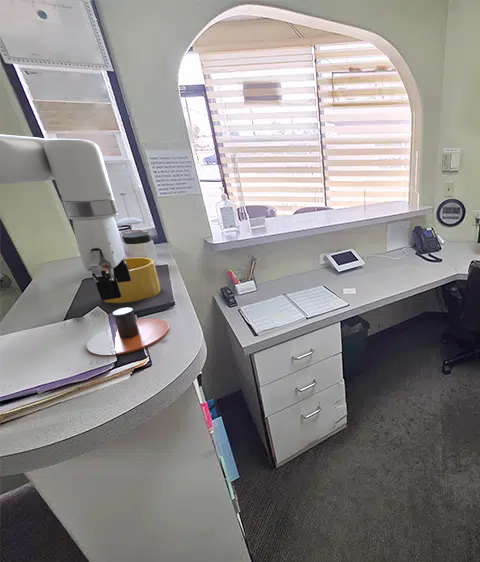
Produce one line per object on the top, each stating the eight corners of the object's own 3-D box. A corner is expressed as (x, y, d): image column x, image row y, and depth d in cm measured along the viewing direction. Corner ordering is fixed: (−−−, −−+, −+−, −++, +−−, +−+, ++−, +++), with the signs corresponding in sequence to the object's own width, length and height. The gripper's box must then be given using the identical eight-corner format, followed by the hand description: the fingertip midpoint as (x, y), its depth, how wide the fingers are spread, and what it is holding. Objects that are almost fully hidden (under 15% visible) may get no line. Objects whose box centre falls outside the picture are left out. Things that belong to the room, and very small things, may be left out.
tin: (97, 308, 84) (86, 275, 80) (110, 289, 95) (101, 260, 91) (157, 299, 89) (149, 269, 86) (162, 283, 101) (156, 255, 97)
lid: (77, 365, 61) (64, 335, 59) (98, 329, 74) (89, 303, 71) (166, 348, 68) (158, 319, 65) (172, 317, 80) (166, 293, 78)
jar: (126, 270, 109) (117, 237, 105) (132, 263, 116) (123, 232, 112) (156, 268, 113) (149, 236, 108) (160, 261, 120) (153, 231, 115)
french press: (149, 257, 123) (133, 193, 114) (113, 260, 119) (94, 193, 110) (156, 251, 132) (141, 190, 122) (123, 252, 128) (105, 190, 119)
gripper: (81, 203, 65) (106, 278, 72) (47, 218, 51) (81, 309, 58) (125, 202, 69) (145, 274, 75) (104, 215, 54) (131, 302, 61)
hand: (117, 289), depth 66 cm, fingers open, 9 cm apart
